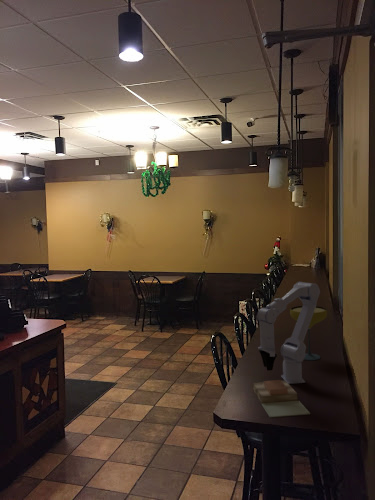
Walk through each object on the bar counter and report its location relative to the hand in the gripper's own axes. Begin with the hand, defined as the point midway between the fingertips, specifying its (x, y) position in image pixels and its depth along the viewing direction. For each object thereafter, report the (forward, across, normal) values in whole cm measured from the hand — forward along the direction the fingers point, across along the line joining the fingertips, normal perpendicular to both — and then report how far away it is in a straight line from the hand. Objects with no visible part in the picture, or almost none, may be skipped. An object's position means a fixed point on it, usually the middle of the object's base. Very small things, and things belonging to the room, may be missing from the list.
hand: (268, 368), depth 175 cm
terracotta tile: (+5, +10, 0) cm, 11 cm away
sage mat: (+8, +21, 0) cm, 23 cm away
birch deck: (+8, +8, 0) cm, 12 cm away
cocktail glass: (+9, -35, +32) cm, 48 cm away
